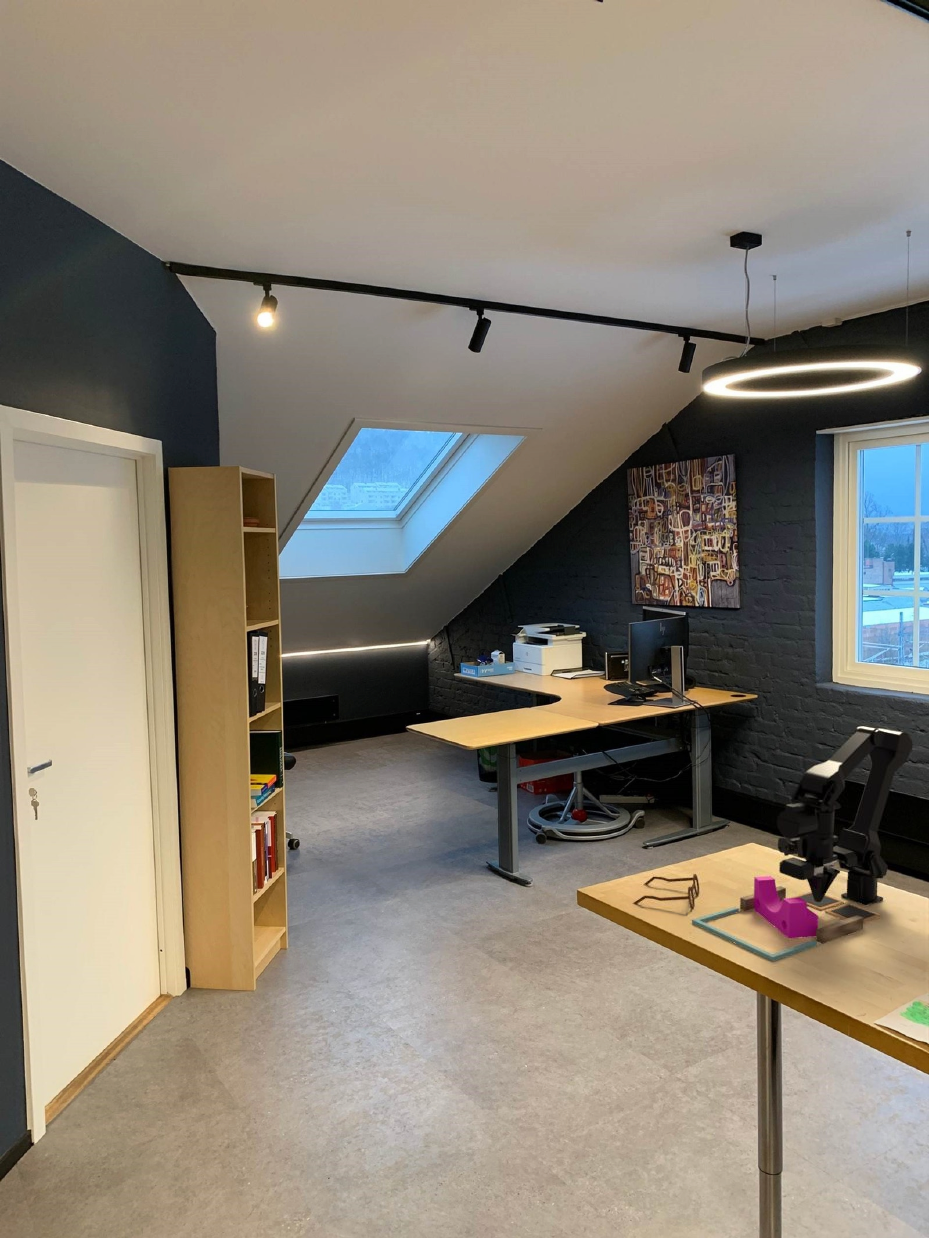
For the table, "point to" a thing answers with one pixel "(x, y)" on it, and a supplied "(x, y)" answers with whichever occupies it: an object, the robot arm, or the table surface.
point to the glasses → (675, 897)
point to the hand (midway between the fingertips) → (817, 901)
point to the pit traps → (841, 911)
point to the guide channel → (822, 933)
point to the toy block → (783, 910)
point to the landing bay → (744, 944)
